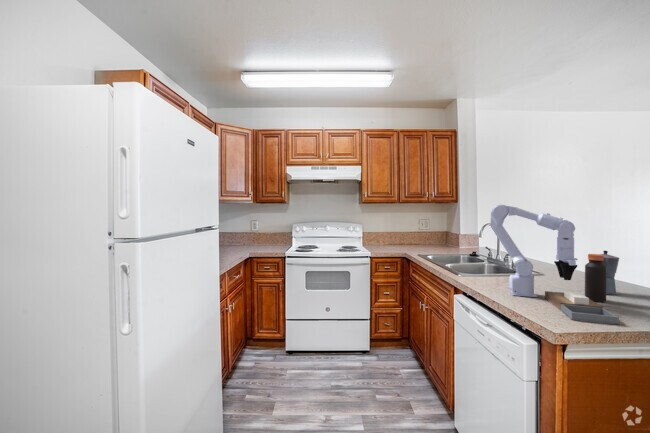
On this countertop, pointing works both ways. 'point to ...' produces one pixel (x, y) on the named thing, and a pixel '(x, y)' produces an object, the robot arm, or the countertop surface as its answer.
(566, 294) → the tile back
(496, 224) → the robot arm
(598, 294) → the bottle
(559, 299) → the walnut board
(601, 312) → the box
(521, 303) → the countertop surface
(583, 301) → the tile front
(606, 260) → the moka pot
